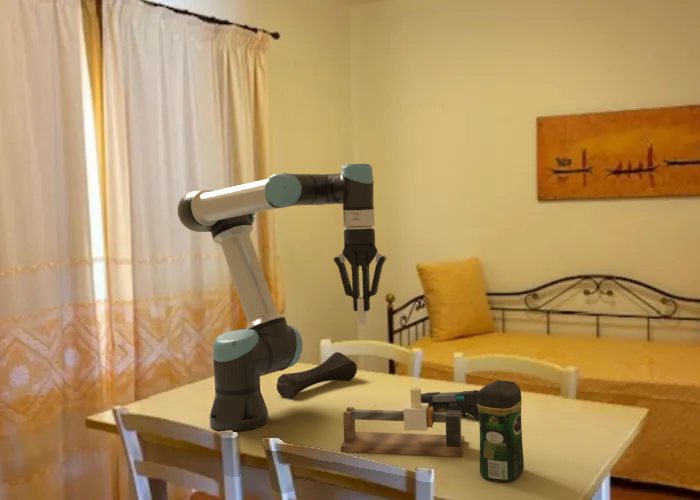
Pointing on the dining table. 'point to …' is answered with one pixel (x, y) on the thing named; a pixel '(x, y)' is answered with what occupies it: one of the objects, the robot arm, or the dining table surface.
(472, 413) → the gun
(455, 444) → the slider rail stand
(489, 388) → the coffee jar
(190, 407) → the dining table surface
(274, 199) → the robot arm
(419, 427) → the sleeve
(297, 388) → the dark brown bone
